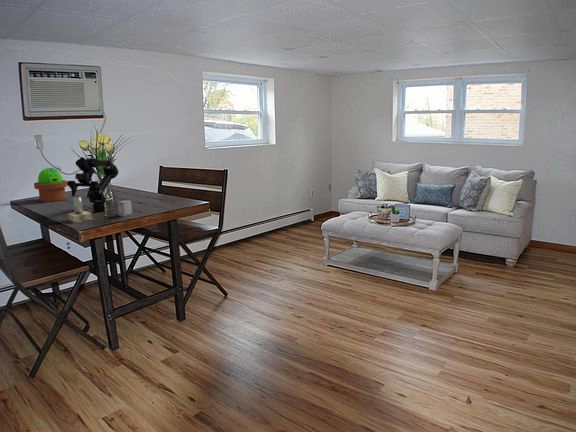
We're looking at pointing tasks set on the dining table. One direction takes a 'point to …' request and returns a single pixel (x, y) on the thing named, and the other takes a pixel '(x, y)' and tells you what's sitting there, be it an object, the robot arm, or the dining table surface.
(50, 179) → the potted cactus
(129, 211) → the medicine box
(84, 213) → the beige shallow bowl
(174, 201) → the dining table surface
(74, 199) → the tea tin
